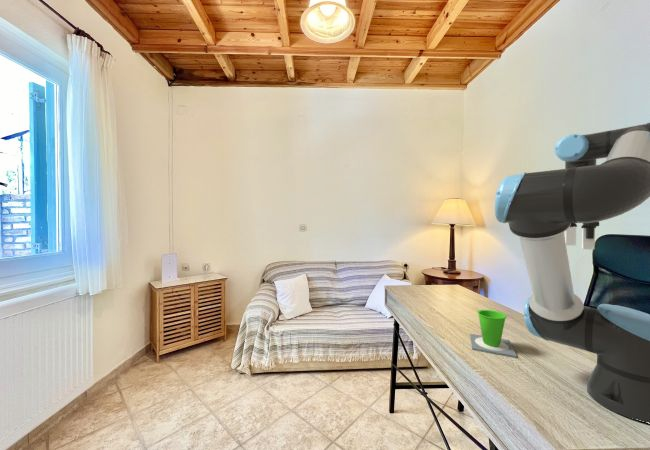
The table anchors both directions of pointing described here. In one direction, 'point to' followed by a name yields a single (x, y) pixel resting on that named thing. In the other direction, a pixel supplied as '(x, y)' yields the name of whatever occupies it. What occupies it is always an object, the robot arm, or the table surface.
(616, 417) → the table surface
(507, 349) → the coaster
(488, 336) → the cup
